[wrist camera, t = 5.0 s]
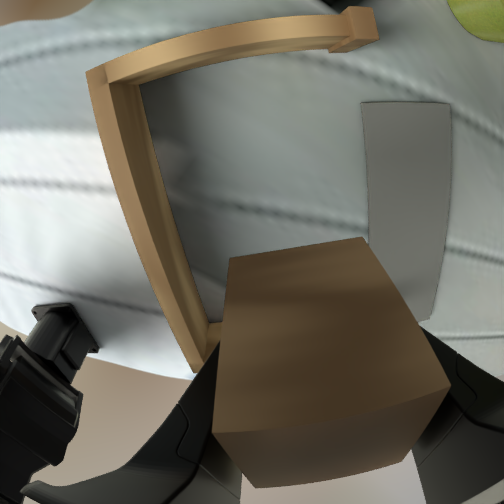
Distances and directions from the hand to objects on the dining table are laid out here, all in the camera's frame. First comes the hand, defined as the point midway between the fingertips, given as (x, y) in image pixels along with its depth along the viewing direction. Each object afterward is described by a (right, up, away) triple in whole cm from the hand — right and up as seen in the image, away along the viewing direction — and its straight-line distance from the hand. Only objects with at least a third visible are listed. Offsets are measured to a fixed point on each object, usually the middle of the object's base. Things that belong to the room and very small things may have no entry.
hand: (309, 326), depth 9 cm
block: (0, +1, +1) cm, 1 cm away
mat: (+10, +4, +11) cm, 16 cm away
